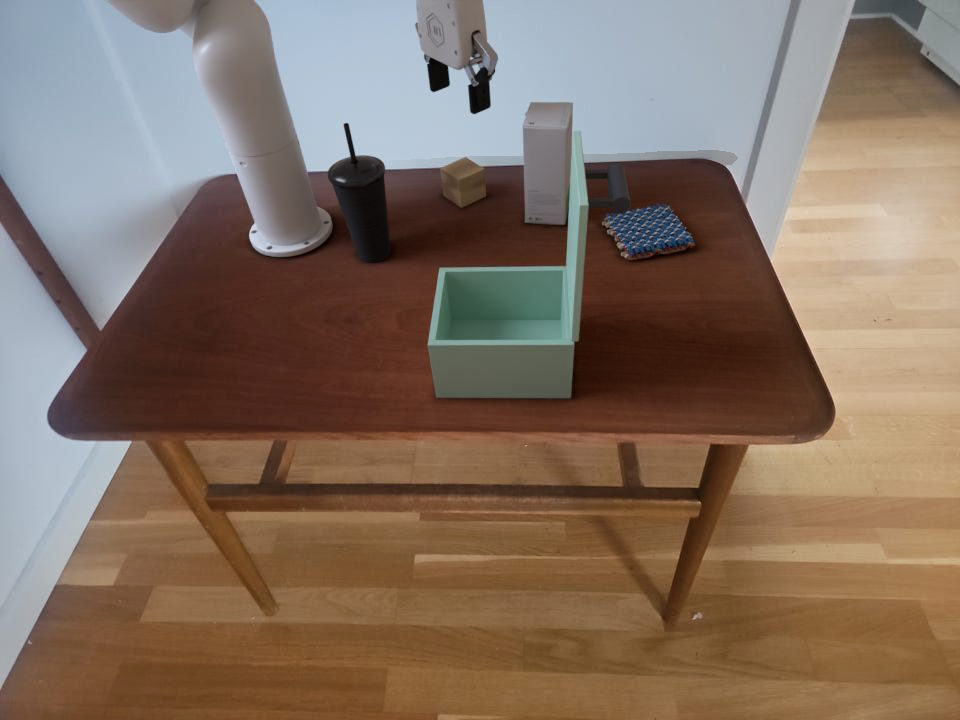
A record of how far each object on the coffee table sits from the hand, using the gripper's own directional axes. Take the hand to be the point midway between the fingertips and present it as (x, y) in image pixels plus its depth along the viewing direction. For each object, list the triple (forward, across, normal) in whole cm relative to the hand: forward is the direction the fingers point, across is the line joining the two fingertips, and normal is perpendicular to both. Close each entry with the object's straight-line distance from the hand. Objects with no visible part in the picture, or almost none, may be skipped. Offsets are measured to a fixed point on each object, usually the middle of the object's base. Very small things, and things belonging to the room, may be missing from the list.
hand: (459, 99), depth 92 cm
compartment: (+16, +31, -18) cm, 40 cm away
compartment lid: (-1, +36, -12) cm, 38 cm away
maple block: (+16, -1, 0) cm, 16 cm away
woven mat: (+17, +26, +13) cm, 33 cm away
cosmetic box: (+17, +11, +7) cm, 21 cm away
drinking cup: (+16, +2, -19) cm, 25 cm away
